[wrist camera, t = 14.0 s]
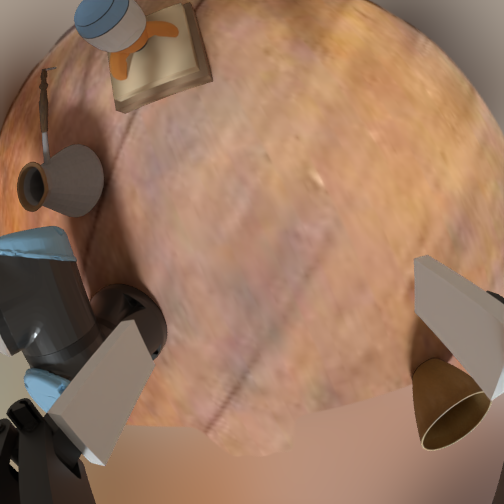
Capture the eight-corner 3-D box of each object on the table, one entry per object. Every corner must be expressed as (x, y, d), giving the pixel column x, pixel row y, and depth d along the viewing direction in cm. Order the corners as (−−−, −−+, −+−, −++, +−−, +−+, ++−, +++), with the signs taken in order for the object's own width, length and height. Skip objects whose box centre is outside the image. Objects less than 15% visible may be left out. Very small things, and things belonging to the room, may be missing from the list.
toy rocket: (113, 34, 28) (79, -25, 14) (181, 20, 29) (170, -50, 15) (106, 88, 30) (57, 33, 15) (181, 73, 31) (162, 2, 16)
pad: (125, 113, 36) (109, 108, 31) (114, 44, 32) (100, 33, 27) (213, 81, 34) (205, 69, 29) (194, 11, 31) (186, -4, 26)
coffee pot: (106, 220, 41) (45, 244, 26) (56, 207, 40) (-5, 225, 26) (133, 87, 35) (77, 59, 20) (78, 87, 34) (19, 69, 20)
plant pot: (462, 335, 43) (503, 380, 28) (445, 388, 47) (474, 434, 32) (401, 351, 44) (437, 409, 29) (389, 404, 48) (411, 460, 33)
